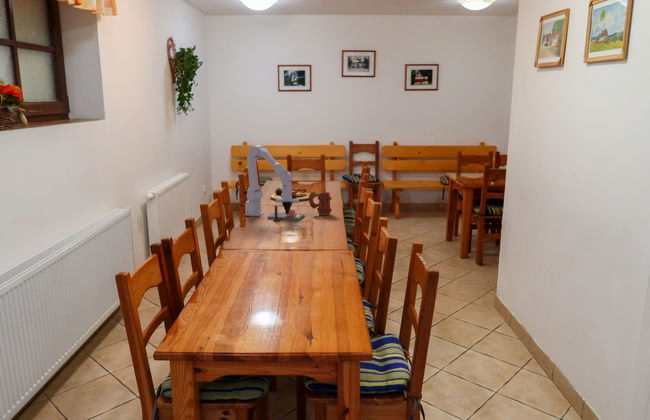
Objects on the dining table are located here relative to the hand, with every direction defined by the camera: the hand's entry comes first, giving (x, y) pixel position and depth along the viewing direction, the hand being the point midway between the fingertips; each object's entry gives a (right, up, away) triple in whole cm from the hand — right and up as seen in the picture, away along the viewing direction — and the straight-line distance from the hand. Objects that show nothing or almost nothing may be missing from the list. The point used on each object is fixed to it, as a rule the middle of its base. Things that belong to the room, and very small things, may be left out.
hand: (287, 213), depth 313 cm
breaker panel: (-1, -2, +1) cm, 3 cm away
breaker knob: (+3, -1, -1) cm, 3 cm away
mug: (+20, -1, +8) cm, 22 cm away
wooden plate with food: (-1, +11, +65) cm, 66 cm away
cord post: (-6, -4, -7) cm, 10 cm away
